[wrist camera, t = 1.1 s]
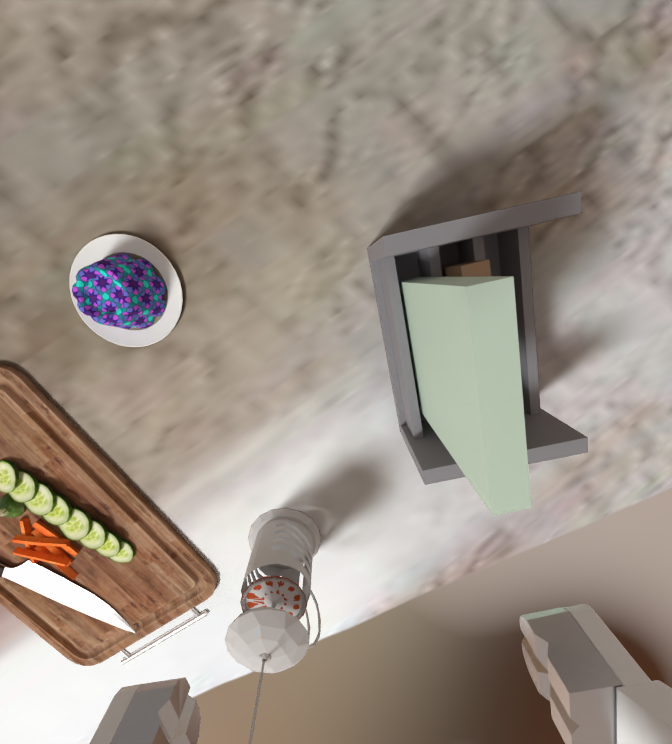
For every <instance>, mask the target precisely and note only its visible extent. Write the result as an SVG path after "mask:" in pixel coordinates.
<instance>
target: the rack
mask: <svg viewBox="0 0 672 744" xmlns="http://www.w3.org/2000/svg"><path fill="white" fill-rule="evenodd" d="M579 213H582V205H581V191H580V192H576V193H571V194H567V195H563V196H558V197H554V198H549V199H545V200H541V201H536V202H532V203H527V204H523V205H519V206H514V207H510V208H505V209H501V210H497V211H492V212H488V213H483V214H479V215H475V216H470V217H466V218H461V219H457V220H453V221H448V222H444V223H439V224H435V225H431V226H426V227H422V228H417V229H413V230H409V231H404V232H400V233H395V234H391V235H387V236H383V237H381V238H380V239H379V240H377V241H376V242H375V243H373V244H372V245H371V246H370V247H368V248H367V251H368V256H369V262H370V267H371V273H372V278H373V284H374V289H375V295H376V300H377V306H378V311H379V317H380V323H381V328H382V334H383V339H384V345H385V350H386V356H387V361H388V367H389V372H390V378H391V383H392V389H393V394H394V400H395V405H396V411H397V416H398V422H399V427H400V432H401V434H402V436H403V438H404V441H405V443H406V445H407V447H408V449H409V451H410V454H411V456H412V458H413V460H414V462H415V464H416V467H417V469H418V471H419V473H420V475H421V477H422V479H423V482H424V484H425V485H426V484H431V483H436V482H441V481H446V480H451V479H456V478H461V477H466V476H465V475H464V473H463V472H462V470H461V469H460V468H459V466H458V465H457V463H456V462H455V460H454V459H453V457H452V456H451V454H450V453H449V452H448V450H447V449H446V447H445V446H444V444H443V443H442V441H441V440H440V438H439V437H438V436H437V434H436V433H435V431H434V430H433V428H432V427H431V425H430V424H429V422H428V421H427V420H426V418H425V417H424V415H423V414H422V412H421V411H420V409H419V406H418V400H417V394H416V387H415V381H414V375H413V369H412V363H411V357H410V351H409V345H408V338H407V332H406V326H405V320H404V314H403V308H402V302H401V295H400V289H399V283H398V281H401V280H405V279H410V278H414V277H442V269H441V266H446V265H450V264H455V263H463V262H472V261H481V260H490V269H491V276H514V289H515V302H516V315H517V328H518V341H519V354H520V366H521V379H522V392H523V405H524V418H525V431H526V444H527V457H528V464H532V463H537V462H542V461H547V460H552V459H557V458H562V457H567V456H572V455H577V454H582V453H587V452H588V437H586V436H584V435H583V434H581V433H580V432H578V431H576V430H575V429H573V428H571V427H570V426H568V425H567V424H565V423H563V422H562V421H560V420H559V419H557V418H555V417H554V416H552V415H550V414H549V413H547V412H546V411H544V410H542V409H541V408H540V397H539V382H538V366H537V350H536V335H535V319H534V304H533V288H532V272H531V257H530V241H529V226H532V225H535V224H539V223H543V222H547V221H551V220H555V219H559V218H563V217H567V216H571V215H575V214H579Z"/></svg>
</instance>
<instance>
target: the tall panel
mask: <svg viewBox="0 0 672 744" xmlns="http://www.w3.org/2000/svg"><path fill="white" fill-rule="evenodd" d="M398 283H399V289H400V295H401V302H402V308H403V314H404V320H405V326H406V332H407V338H408V345H409V351H410V357H411V363H412V369H413V375H414V381H415V387H416V394H417V400H418V406H419V409H420V411H421V412H422V414H423V415H424V417H425V418H426V420H427V421H428V422H429V424H430V425H431V427H432V428H433V430H434V431H435V433H436V434H437V436H438V437H439V438H440V440H441V441H442V443H443V444H444V446H445V447H446V449H447V450H448V452H449V453H450V454H451V456H452V457H453V459H454V460H455V462H456V463H457V465H458V466H459V468H460V469H461V470H462V472H463V473H464V475H465V476H466V478H467V479H468V481H469V482H470V484H471V485H472V486H473V488H474V489H475V491H476V492H477V494H478V495H479V497H480V498H481V500H482V501H483V502H484V504H485V505H486V507H487V508H488V510H489V511H490V513H491V514H492V516H493V515H498V514H503V513H509V512H514V511H519V510H524V509H529V508H531V496H530V483H529V470H528V457H527V444H526V431H525V418H524V405H523V392H522V379H521V366H520V354H519V341H518V328H517V315H516V302H515V289H514V276H488V277H414V278H410V279H405V280H401V281H398Z"/></svg>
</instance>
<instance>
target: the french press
mask: <svg viewBox="0 0 672 744" xmlns="http://www.w3.org/2000/svg"><path fill="white" fill-rule="evenodd" d="M248 539H249V544H250V549H251V550H252V552H251V556H250V560H249V563H248V567H247V570H246V574H245V577H244V581H243V585H242V589H241V593H242V598H241V606H242V611H243V613H242V614H240V615H239V616H238V617H237V618H236V619H235V620H234V622H233V623H232V624H231V625H230V626H229V627H228V630H227V634H226V637H225V641H226V645H227V649H228V652H229V653H230V654H231V655H232V657H233V658H234V659H235V660H236V661H237V662H238V663H240V664H242V665H243V666H245V667H247V668H249V669H250V670H252V671H257V672H261V674H260V680H259V686H258V692H257V698H256V703H255V709H254V716H253V721H252V727H251V733H250V738H249V744H251V743H252V737H253V731H254V725H255V719H256V713H257V707H258V701H259V695H260V689H261V682H262V676H263V672H265V673H275V672H280V671H283V670H285V669H288V668H290V667H292V666H294V665H296V664H297V663H298V662H299V661H300V660H301V659H302V658H303V657H304V656H305V654H306V651H307V648H312V647H313V646H315V645H316V643H317V641H318V639H319V637H320V625H321V619H320V613H319V608H318V604H317V601H316V599H315V596H314V594H313V593H312V591H311V572H312V558H313V557H314V556H315V555H316V553H317V552H318V549H319V546H320V543H321V539H320V532H319V529H318V527H317V526H316V524H315V523H314V521H313V520H312V519H311V518H310V517H308V516H307V515H305V514H304V513H302V512H301V511H297V510H292V509H288V508H283V509H274V510H270V511H268V512H266V513H264V514H262V515H260V516H259V517H258V518H257V519H256V521H255V522H254V523H253V524H252V525H251V528H250V532H249V536H248ZM303 564H305V565H304V566H303ZM257 568H259V569H260V570H261V571H262V572H263V573H264V574H265V575H267V577H263V576H262V575H260V574H259V573H258V570H257ZM253 570H255V572H256V575H257V577H258V578H259V579H258V580H256V578H255V576H254V573H253ZM250 572H251V575H252V578H253V582H252V583H251V579H250V575H249V574H250ZM300 572H301V573H302V574H303V576H304V578H303V590H302V589H301V588H300V587H299V576H300ZM247 576H248V582H249V586H247V579H246V577H247ZM280 576H282V577H280ZM310 594H311V596H312V598H313V600H314V602H315V604H316V608H317V612H318V627H319V632H318V635H317V638H316V640H315V641H314V643H313V644H311V645H309V635H310V624H309V619H308V613H307V610H306V607H307V602H308V599H309V596H310ZM305 612H306V618H307V626H308V633H307V630H306V629H305V627H304V626H303V625H302V624H301V622H300V621H299V619H300V618H301V617H302V616H303V615H304V613H305Z"/></svg>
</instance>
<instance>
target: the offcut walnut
mask: <svg viewBox="0 0 672 744" xmlns="http://www.w3.org/2000/svg"><path fill="white" fill-rule="evenodd" d="M441 269H442V277H488V276H491V269H490V260H481V261H472V262H463V263H455V264H450V265H446V266H441Z"/></svg>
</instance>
